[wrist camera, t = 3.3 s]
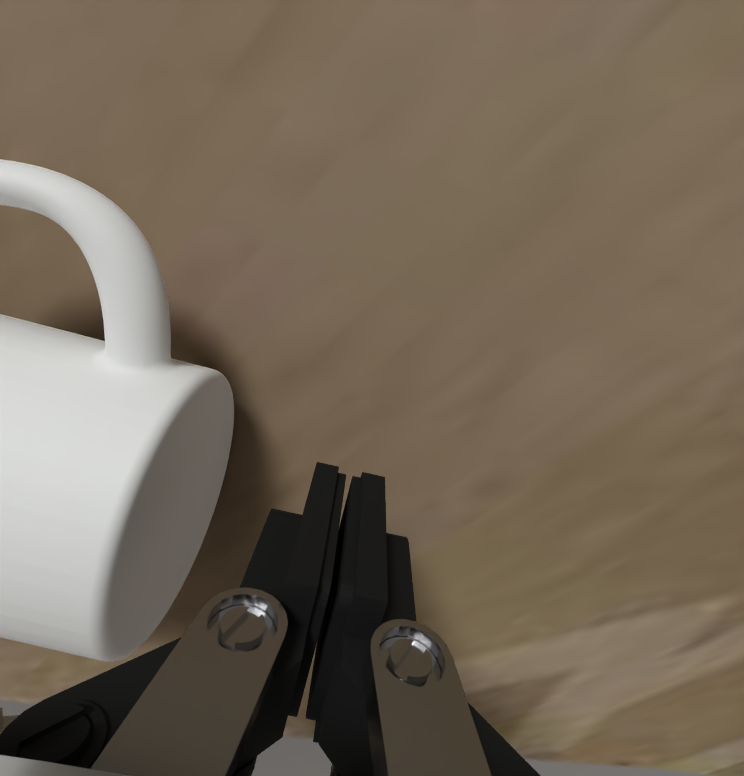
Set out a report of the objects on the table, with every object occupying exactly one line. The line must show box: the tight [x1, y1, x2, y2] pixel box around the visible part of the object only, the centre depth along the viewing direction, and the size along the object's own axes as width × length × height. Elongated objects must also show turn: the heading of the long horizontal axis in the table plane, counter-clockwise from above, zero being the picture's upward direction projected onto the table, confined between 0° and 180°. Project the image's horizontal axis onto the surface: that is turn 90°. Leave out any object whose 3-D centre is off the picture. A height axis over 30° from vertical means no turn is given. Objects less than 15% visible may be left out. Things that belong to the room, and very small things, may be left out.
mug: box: [0, 160, 234, 662], centre depth 12 cm, size 12×10×8 cm
